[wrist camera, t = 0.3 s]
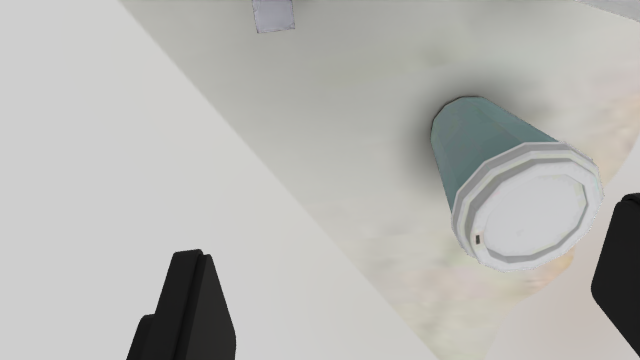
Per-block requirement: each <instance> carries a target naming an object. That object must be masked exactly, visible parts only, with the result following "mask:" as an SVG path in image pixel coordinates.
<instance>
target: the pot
mask: <svg viewBox="0 0 640 360" xmlns="http://www.w3.org/2000/svg"><path fill="white" fill-rule="evenodd" d="M252 4H253V10H254V16H255V22H256V27H257V33H263V32H271V31H280V30H288V29H295V24H294V16H293V8H292V0H252Z"/></svg>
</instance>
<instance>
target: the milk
mask: <svg viewBox="0 0 640 360" xmlns="http://www.w3.org/2000/svg"><path fill="white" fill-rule="evenodd" d="M575 1H578V2H581V3H584V4H587V5H590V6H593V7H596V8H599V9H602V10H605V11H608V12H611V13H614V14H617V15H620V16H623V17H626V18H629V19H633V20H636V21H639V22H640V0H575Z"/></svg>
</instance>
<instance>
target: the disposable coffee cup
mask: <svg viewBox="0 0 640 360" xmlns="http://www.w3.org/2000/svg"><path fill="white" fill-rule="evenodd" d="M430 140H431V144H432V147H433V151H434V154H435V158H436V161H437V165H438V168H439V172H440V175H441V179H442V182H443V186H444V189H445V193H446V196H447V200H448V203H449V207H450V210H451V224H452V230H453V232H454V234H455V236H456V238H457V240H458V242H459V244H460V246H461V248H463V249H464V250H465V252H466V253H467V255H469V256H471V257H474V258H476V259H477V260H478V262H479V263H480V264H483V265H485V266H488V267H490V268H493V269H495V270H498V271H500V272H511V271H519V270H528V269H534V268H536V267H539V266H541V265H543V264H545V263H547V262H549V261H551V260H553V259H555V258H557V257H559V256H561V255H564V254H565V253H566V252H567V251H568V250H569V249H570V248H571V247H572V246H574V245H575V244H576V243H577V242H578V241H579V240H580V239H581V238H582V237H583V236H584V235H585V234H586V233H587V232H588V231H589V230H590V228H591V226H592V223H593V221H594V219H595V217H596V214H597V212H598V210H599V207H600V205H601V203H602V200H603V198H604V192H603V187H602V183H601V178H600V173H599V169H598V167H597V166H596V165H595V163H594V162H593V159H591V158H590V157H588V156H587V155H585V154H584V153H582V152H581V151H579V150H577V149H576V148H574V147H573V146H571V145H570V144H568V143H567V142H559V141H557V140H555V139H554V138H552V137H550V136H549V135H547V134H545V133H543V132H542V131H540V130H538V129H536V128H535V127H533V126H531V125H530V124H528V123H526V122H524V121H523V120H521V119H519V118H518V117H516V116H514V115H512V114H511V113H509V112H507V111H506V110H504V109H502V108H500V107H499V106H497V105H495V104H493V103H492V102H490V101H488V100H487V99H485V98H483V97H461V98H459V99H457V100H455V101H453V102H451V103H449V104H447V105H445V106H444V107H443V109H442V110H441V111H440V113H439V114H438V115H437V116H436V118H435V119H434V122H433V127H432V132H431V138H430Z"/></svg>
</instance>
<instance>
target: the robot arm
mask: <svg viewBox="0 0 640 360" xmlns="http://www.w3.org/2000/svg"><path fill="white" fill-rule="evenodd" d="M591 292H592V296H593V298H594V299H595V301H596V303H597V304H598V305H599V306H600V308H601V309H602V310H603V311H604V312H605V314H606V315H607V316H608V318H609V319H610V320H611V321H612V323H613V324H614V325H615V327H616V328H617V329H618V330H619V332H620V333H621V334H622V335H623V337H624V338H625V339H626V340H627V342H628V343H629V344H630V346H631V347H632V348H633V349H634V351H635V352H636V353H637V354H638V356H639V357H640V193H633V194H628V195H625V196H624V197H623V198H622V200H621V202H618V203H617V204H616V206H615V208H614V212H613V215H612V218H611V222H610V225H609V228H608V231H607V234H606V238H605V241H604V244H603V248H602V251H601V254H600V257H599V261H598V264H597V267H596V270H595V274H594V277H593V280H592V284H591ZM235 351H236V335H235V330H234V327H233V324H232V321H231V317H230V314H229V311H228V308H227V304H226V301H225V298H224V295H223V292H222V289H221V285H220V282H219V279H218V276H217V273H216V269H215V266H214V263H213V259H212V257H211V255H210V254H207V255H203V252H202V251H201V250H200V249H196V250H189V251H180V252H175V253H174V254H173V257H172V260H171V263H170V266H169V269H168V272H167V276H166V279H165V282H164V285H163V289H162V292H161V295H160V298H159V301H158V305H157V308H156V311H155V314H150V315H144V316H143V317H142V318H141V320H140V322H139V324H138V327H137V330H136V333H135V336H134V339H133V342H132V344H131V347H130V350H129V353H128V356H127V359H126V360H235Z"/></svg>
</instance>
